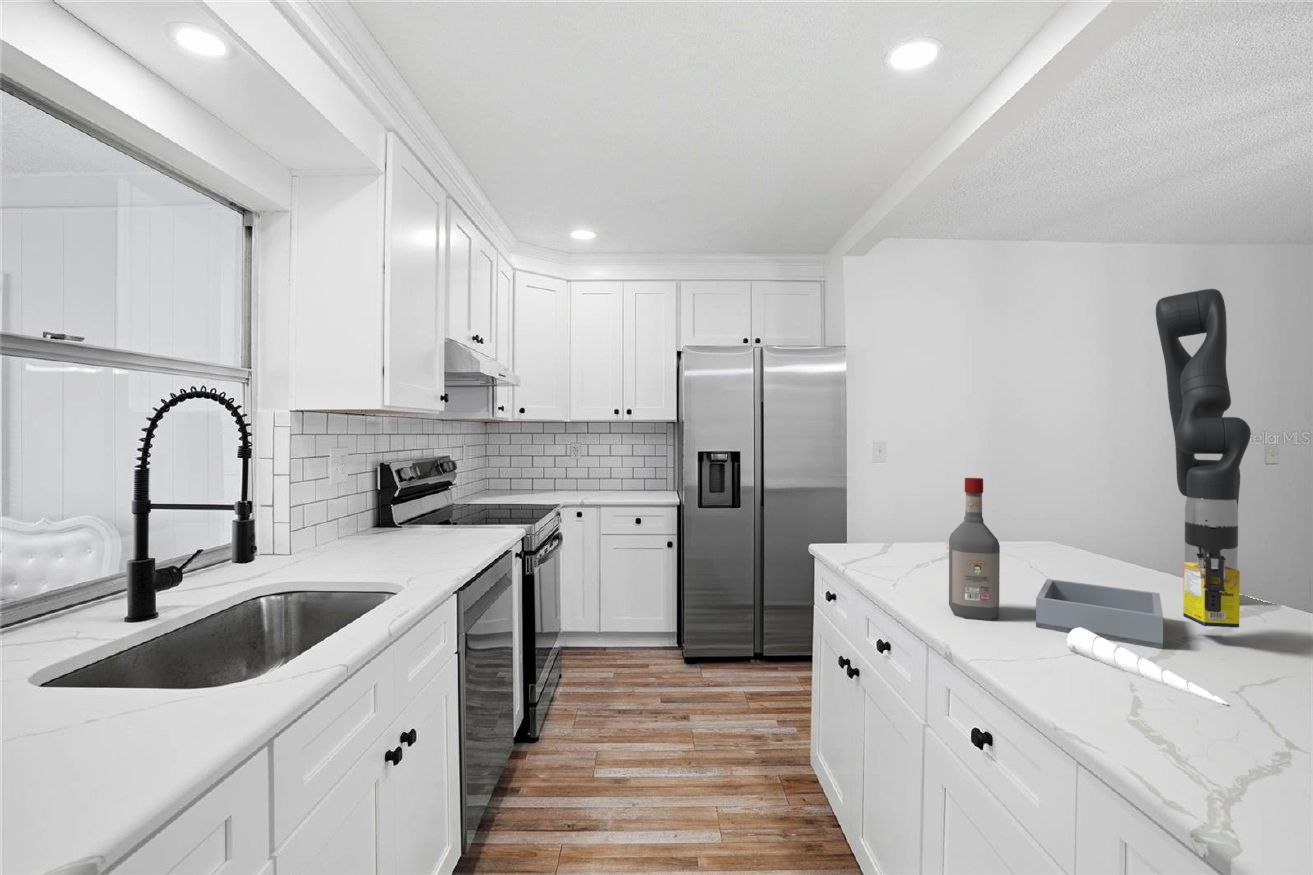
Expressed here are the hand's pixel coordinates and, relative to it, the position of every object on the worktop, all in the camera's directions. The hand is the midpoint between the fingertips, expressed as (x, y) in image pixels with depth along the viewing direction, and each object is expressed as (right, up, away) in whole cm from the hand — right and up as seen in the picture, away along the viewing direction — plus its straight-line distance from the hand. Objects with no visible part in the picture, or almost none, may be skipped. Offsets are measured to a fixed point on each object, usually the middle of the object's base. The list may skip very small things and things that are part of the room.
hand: (1210, 605), depth 115 cm
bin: (-14, -7, +10) cm, 19 cm away
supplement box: (0, -3, 0) cm, 3 cm away
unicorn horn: (-26, -8, -15) cm, 31 cm away
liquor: (-37, -7, +17) cm, 41 cm away
